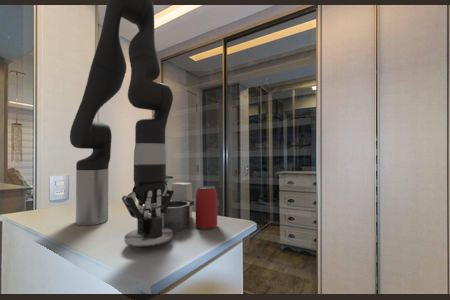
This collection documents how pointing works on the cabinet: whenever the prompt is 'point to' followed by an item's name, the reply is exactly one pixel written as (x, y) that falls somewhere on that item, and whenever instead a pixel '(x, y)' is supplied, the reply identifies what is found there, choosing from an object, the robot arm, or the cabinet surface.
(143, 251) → the cabinet surface
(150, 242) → the lid
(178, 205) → the pot
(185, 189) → the skincare box
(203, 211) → the beer can
